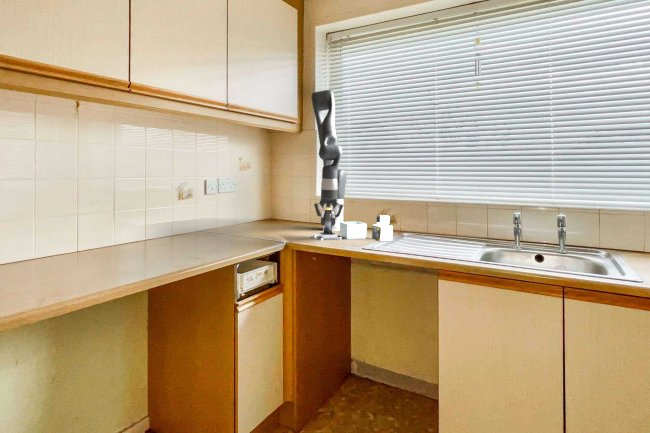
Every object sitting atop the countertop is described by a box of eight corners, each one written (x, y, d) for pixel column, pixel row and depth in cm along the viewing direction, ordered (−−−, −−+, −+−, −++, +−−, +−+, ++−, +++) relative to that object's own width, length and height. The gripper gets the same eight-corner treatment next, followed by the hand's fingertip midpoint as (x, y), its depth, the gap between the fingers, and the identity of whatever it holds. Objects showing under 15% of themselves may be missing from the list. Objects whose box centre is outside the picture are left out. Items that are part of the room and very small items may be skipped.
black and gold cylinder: (321, 233, 176) (322, 206, 175) (323, 232, 181) (324, 205, 179) (331, 234, 175) (332, 206, 174) (333, 232, 180) (334, 206, 178)
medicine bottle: (371, 239, 186) (372, 214, 185) (383, 238, 189) (384, 214, 188) (380, 241, 180) (381, 216, 179) (392, 240, 183) (393, 216, 182)
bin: (339, 238, 185) (339, 221, 184) (357, 237, 189) (358, 221, 188) (346, 241, 177) (347, 224, 176) (366, 240, 181) (366, 224, 180)
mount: (310, 238, 182) (311, 231, 181) (334, 237, 186) (334, 231, 186) (319, 243, 171) (319, 236, 170) (344, 242, 175) (344, 235, 174)
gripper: (312, 188, 173) (311, 226, 175) (343, 189, 171) (342, 227, 173) (315, 187, 180) (314, 223, 182) (345, 188, 178) (344, 225, 180)
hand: (328, 225), depth 178 cm, fingers closed on black and gold cylinder, 4 cm apart
